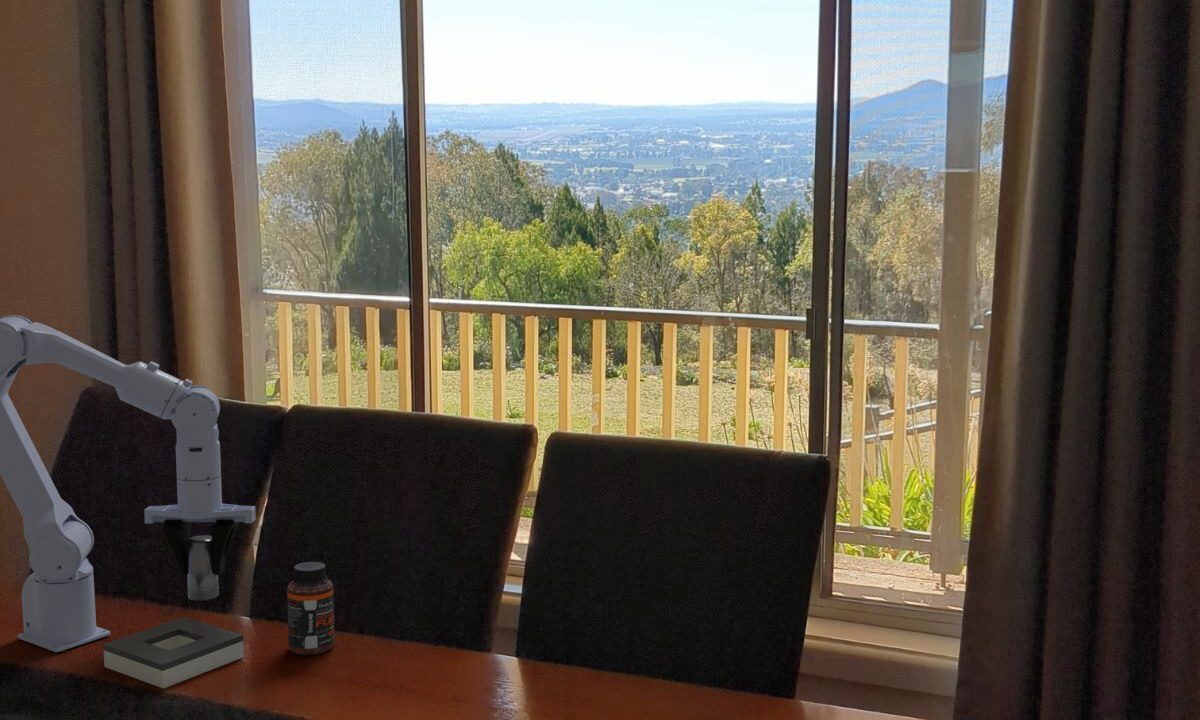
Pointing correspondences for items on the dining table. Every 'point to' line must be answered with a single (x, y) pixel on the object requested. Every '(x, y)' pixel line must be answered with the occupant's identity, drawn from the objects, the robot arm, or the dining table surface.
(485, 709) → the dining table surface
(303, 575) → the supplement bottle
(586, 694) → the dining table surface
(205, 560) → the steel peg
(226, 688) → the dining table surface
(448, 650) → the dining table surface
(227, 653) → the socket
